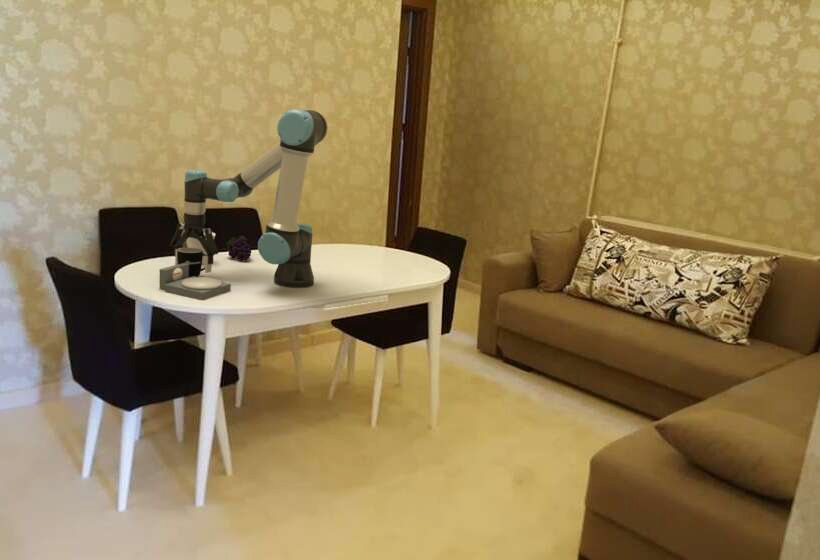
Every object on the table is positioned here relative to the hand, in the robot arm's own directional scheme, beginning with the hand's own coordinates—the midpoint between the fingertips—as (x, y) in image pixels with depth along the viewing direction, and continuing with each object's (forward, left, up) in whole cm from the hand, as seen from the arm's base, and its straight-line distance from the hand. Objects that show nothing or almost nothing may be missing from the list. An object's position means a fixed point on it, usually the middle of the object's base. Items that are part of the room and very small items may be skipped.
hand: (193, 269), depth 245 cm
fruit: (+4, -35, -3) cm, 35 cm away
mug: (0, 0, -3) cm, 3 cm away
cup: (+11, -17, -3) cm, 20 cm away
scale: (-13, +15, -3) cm, 20 cm away
